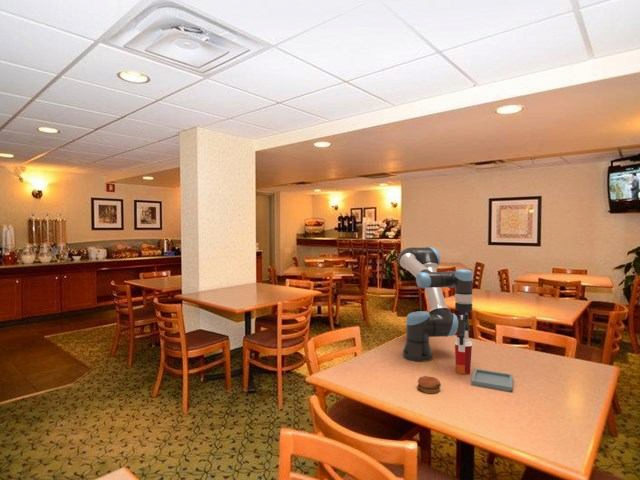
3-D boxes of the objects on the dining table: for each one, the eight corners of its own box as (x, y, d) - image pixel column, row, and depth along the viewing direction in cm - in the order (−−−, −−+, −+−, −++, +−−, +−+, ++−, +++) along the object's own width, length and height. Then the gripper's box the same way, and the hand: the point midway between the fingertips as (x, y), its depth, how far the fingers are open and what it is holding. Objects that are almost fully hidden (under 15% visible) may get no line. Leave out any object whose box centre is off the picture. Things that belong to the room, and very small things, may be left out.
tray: (474, 372, 179) (474, 368, 179) (512, 378, 172) (512, 374, 172) (471, 385, 165) (471, 380, 165) (512, 392, 157) (512, 387, 157)
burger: (433, 396, 154) (433, 385, 154) (413, 389, 161) (413, 378, 160) (444, 389, 161) (444, 378, 161) (424, 383, 168) (424, 372, 168)
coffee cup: (469, 369, 183) (469, 338, 183) (474, 375, 175) (475, 343, 175) (451, 368, 184) (451, 337, 184) (455, 375, 176) (456, 343, 175)
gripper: (458, 297, 191) (458, 340, 192) (451, 306, 169) (451, 353, 169) (474, 299, 188) (474, 341, 188) (469, 307, 166) (469, 356, 166)
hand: (463, 347), depth 179 cm, fingers open, 13 cm apart
